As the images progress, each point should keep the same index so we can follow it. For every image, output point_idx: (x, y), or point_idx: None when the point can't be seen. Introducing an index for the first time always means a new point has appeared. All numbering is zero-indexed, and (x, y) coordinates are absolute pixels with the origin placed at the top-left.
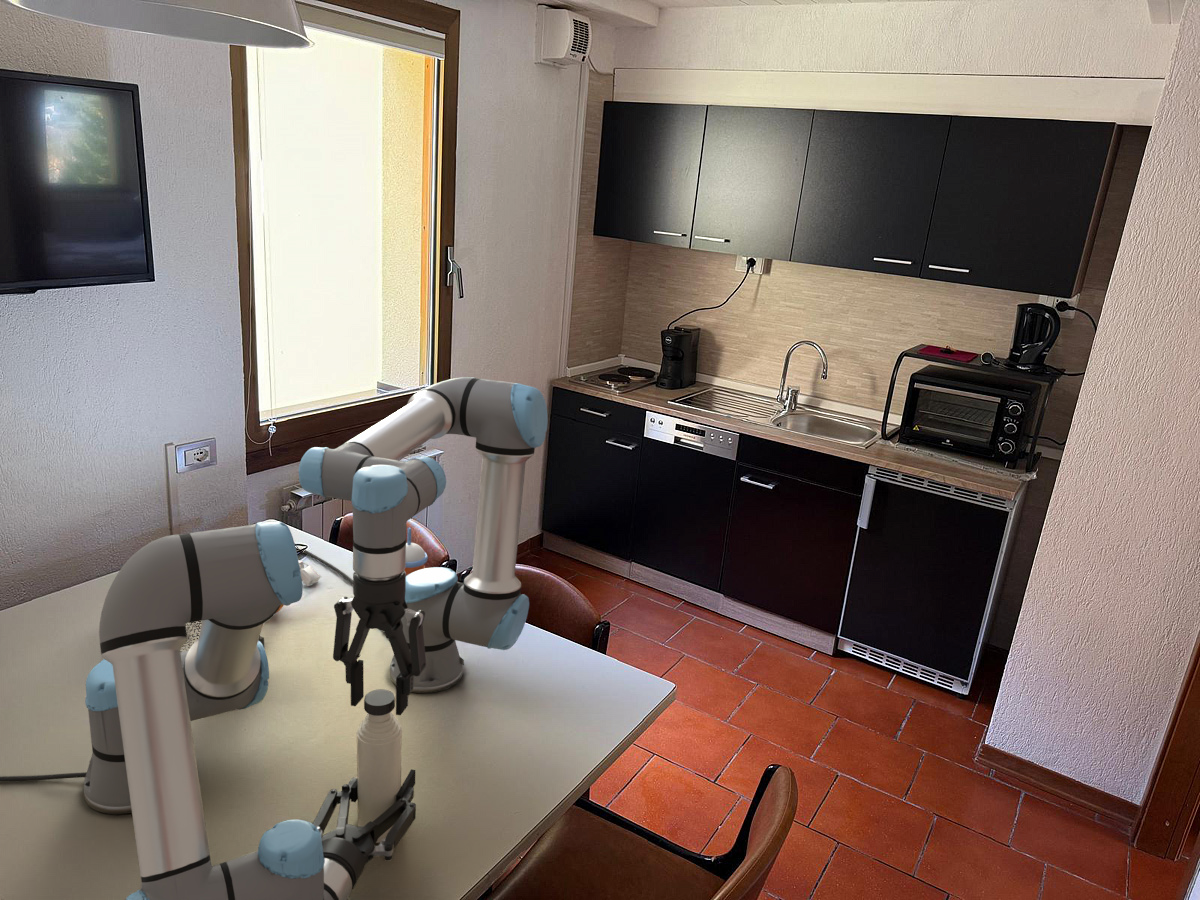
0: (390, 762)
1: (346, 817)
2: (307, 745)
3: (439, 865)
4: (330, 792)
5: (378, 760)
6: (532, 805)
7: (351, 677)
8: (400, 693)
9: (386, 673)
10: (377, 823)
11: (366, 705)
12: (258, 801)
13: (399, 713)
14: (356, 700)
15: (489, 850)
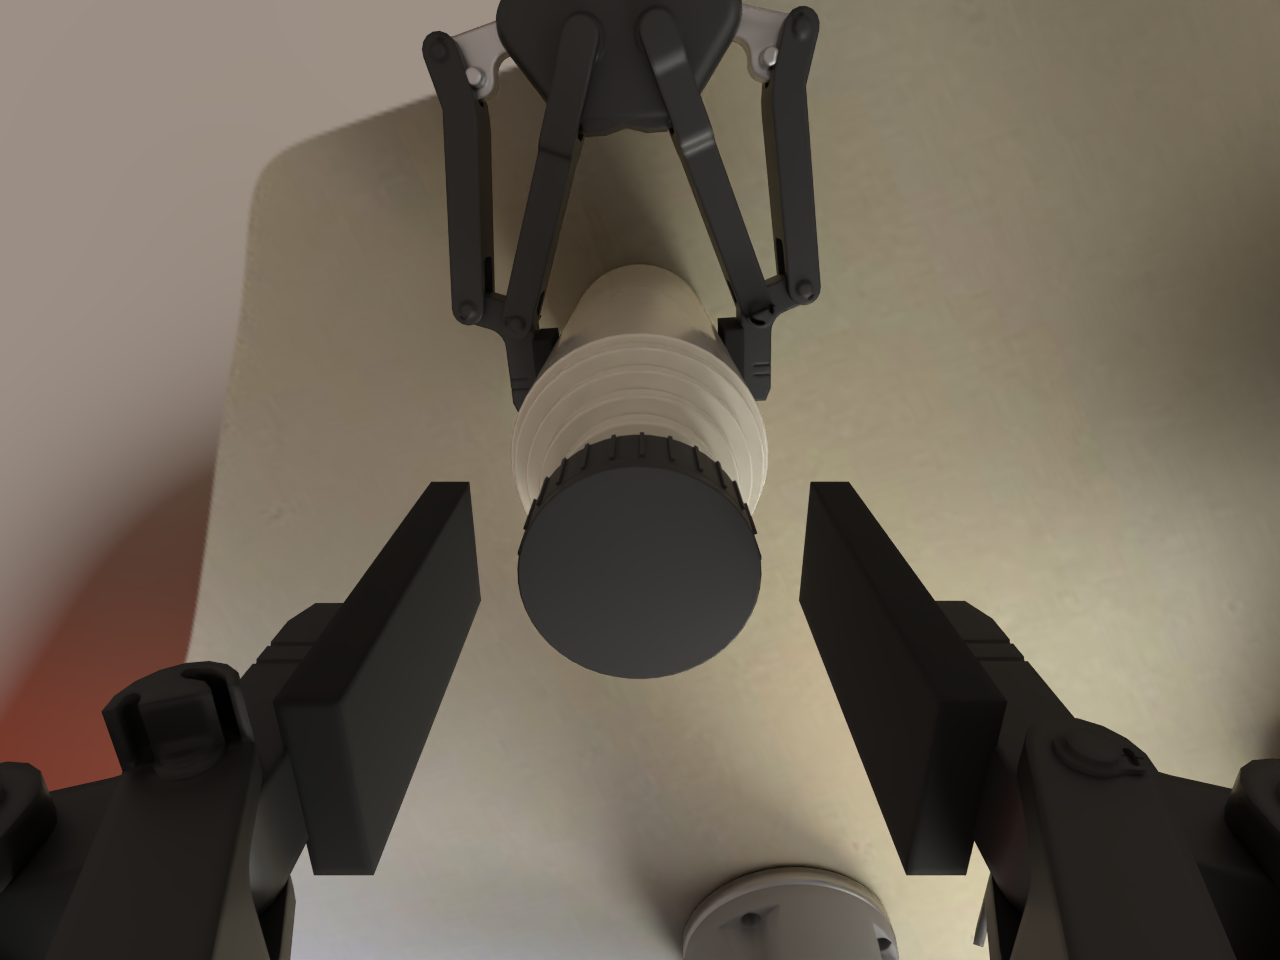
0: (547, 359)
1: (682, 153)
2: (1010, 596)
3: (383, 236)
4: (812, 279)
5: (592, 325)
6: (249, 553)
7: (940, 624)
8: (360, 581)
9: (898, 913)
10: (545, 162)
11: (707, 474)
12: (1069, 328)
13: (435, 488)
14: (818, 516)
15: (272, 344)
